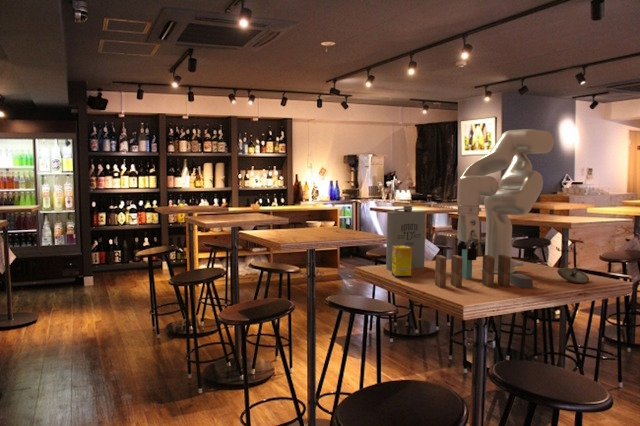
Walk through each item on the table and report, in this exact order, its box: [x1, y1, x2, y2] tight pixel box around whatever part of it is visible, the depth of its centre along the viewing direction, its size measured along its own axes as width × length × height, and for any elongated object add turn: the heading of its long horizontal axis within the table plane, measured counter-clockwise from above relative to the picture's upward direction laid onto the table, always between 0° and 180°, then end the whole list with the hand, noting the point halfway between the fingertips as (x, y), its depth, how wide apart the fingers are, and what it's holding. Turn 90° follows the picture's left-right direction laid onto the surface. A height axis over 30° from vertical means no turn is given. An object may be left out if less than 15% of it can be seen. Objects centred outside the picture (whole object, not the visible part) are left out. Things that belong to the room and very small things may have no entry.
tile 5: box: [496, 255, 512, 288], centre depth 178 cm, size 2×5×10 cm, turn 5°
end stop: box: [510, 273, 534, 289], centre depth 179 cm, size 4×9×3 cm, turn 5°
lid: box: [557, 267, 590, 285], centre depth 186 cm, size 11×10×5 cm
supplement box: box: [391, 246, 412, 279], centre depth 192 cm, size 6×6×11 cm
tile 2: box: [450, 254, 463, 288], centre depth 177 cm, size 2×5×10 cm, turn 5°
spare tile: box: [461, 248, 473, 280], centre depth 190 cm, size 2×5×10 cm, turn 5°
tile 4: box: [481, 254, 495, 288], centre depth 178 cm, size 2×5×10 cm, turn 5°
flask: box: [385, 204, 427, 271], centre depth 208 cm, size 17×5×25 cm, turn 117°
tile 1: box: [434, 254, 447, 289], centre depth 176 cm, size 2×5×10 cm, turn 5°
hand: (466, 257), depth 190 cm, fingers open, 9 cm apart
